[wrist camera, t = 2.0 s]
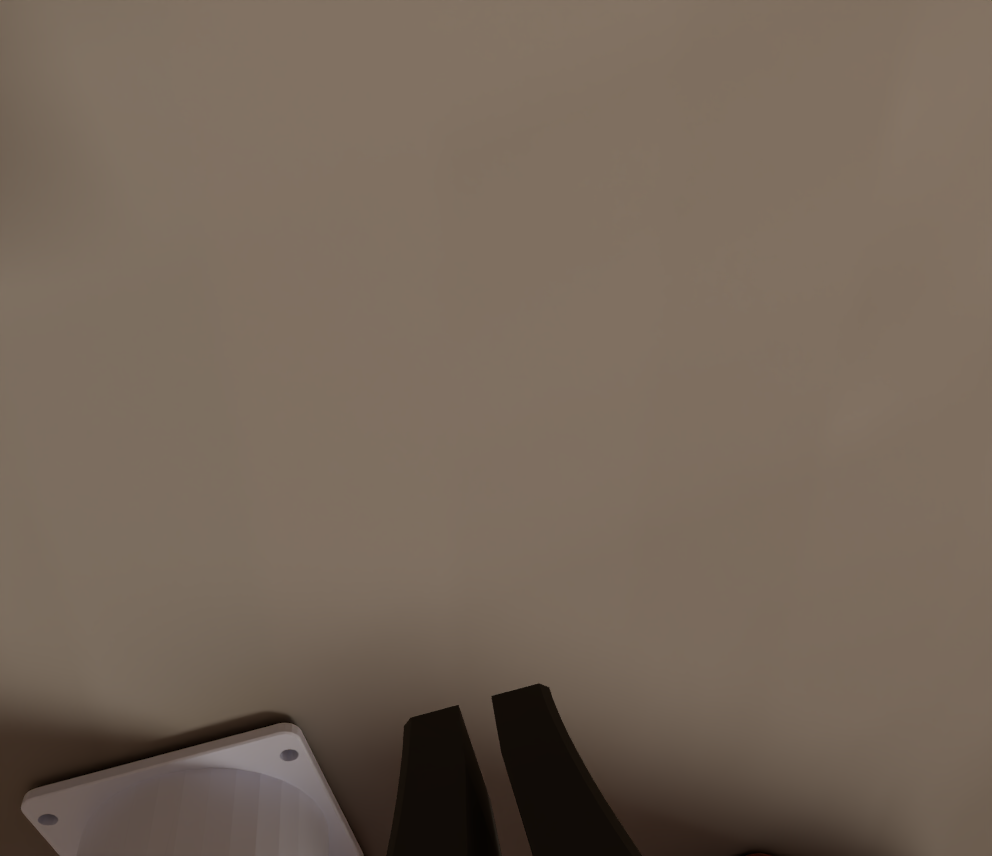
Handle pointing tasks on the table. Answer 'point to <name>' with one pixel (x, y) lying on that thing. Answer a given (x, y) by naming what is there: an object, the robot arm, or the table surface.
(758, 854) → the plant pot
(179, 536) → the table surface
